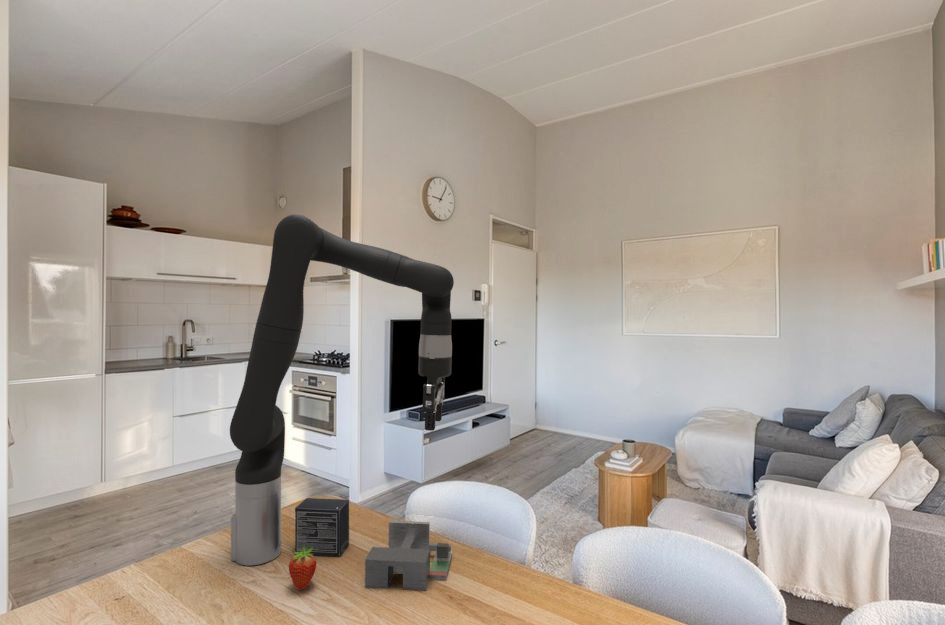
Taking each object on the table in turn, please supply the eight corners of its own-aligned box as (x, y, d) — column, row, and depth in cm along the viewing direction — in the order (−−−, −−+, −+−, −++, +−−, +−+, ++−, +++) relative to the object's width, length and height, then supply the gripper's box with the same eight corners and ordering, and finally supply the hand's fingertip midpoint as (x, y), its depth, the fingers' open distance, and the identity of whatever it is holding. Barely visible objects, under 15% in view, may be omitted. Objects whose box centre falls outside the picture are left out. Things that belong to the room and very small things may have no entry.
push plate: (376, 579, 96) (376, 544, 96) (389, 551, 107) (389, 520, 107) (444, 582, 95) (444, 547, 95) (451, 554, 106) (451, 523, 106)
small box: (350, 543, 111) (350, 498, 111) (340, 557, 105) (340, 510, 105) (306, 540, 112) (307, 496, 112) (293, 555, 106) (293, 507, 106)
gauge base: (365, 587, 94) (365, 559, 94) (383, 551, 107) (383, 527, 107) (443, 591, 92) (443, 563, 92) (452, 554, 106) (452, 530, 106)
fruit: (283, 588, 93) (283, 547, 93) (307, 577, 97) (307, 538, 97) (297, 599, 90) (297, 557, 90) (322, 587, 94) (322, 546, 93)
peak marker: (436, 557, 103) (436, 546, 103) (437, 553, 105) (437, 542, 105) (447, 557, 103) (447, 546, 103) (448, 553, 104) (448, 543, 104)
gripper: (425, 351, 117) (423, 417, 117) (412, 357, 103) (410, 432, 103) (455, 352, 116) (454, 419, 116) (446, 358, 102) (444, 434, 102)
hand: (433, 425), depth 109 cm, fingers open, 8 cm apart
